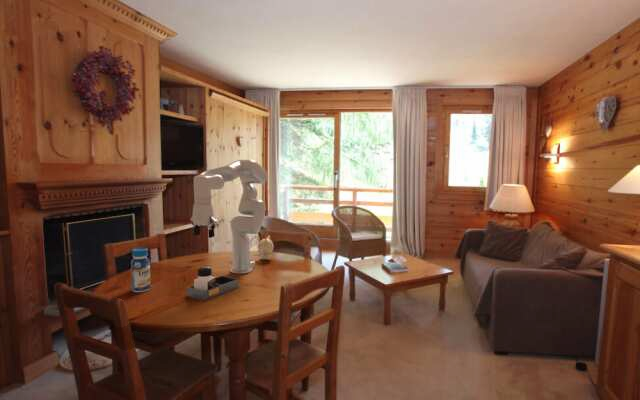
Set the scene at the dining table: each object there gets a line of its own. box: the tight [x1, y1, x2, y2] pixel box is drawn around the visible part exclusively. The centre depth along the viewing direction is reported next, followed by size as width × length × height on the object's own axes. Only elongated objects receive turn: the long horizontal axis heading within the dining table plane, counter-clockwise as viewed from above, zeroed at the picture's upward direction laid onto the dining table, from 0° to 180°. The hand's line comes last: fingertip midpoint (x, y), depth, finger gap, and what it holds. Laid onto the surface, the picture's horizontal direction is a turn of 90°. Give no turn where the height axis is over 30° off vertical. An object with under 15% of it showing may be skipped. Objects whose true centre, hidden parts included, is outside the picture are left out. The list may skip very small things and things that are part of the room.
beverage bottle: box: [130, 247, 152, 293], centre depth 176 cm, size 8×8×20 cm
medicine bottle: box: [193, 266, 217, 291], centre depth 171 cm, size 7×7×12 cm
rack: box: [186, 275, 239, 302], centre depth 175 cm, size 22×12×4 cm, turn 149°
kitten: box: [257, 235, 275, 261], centre depth 236 cm, size 15×10×15 cm
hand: (204, 236), depth 178 cm, fingers open, 9 cm apart
